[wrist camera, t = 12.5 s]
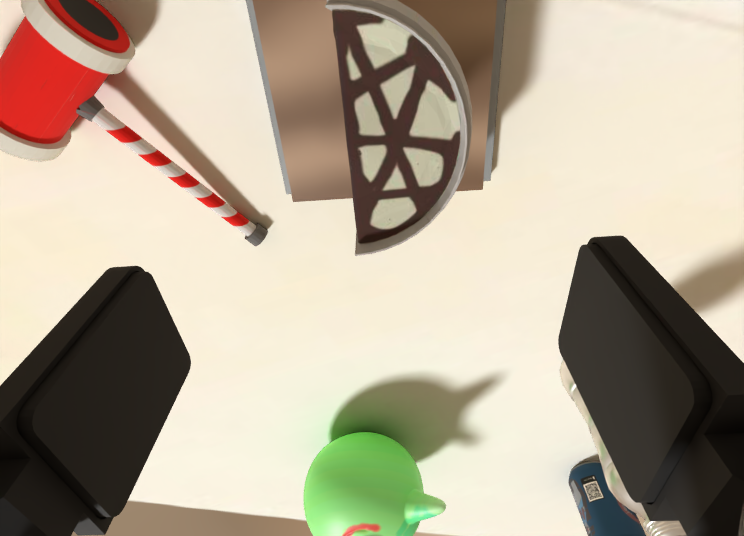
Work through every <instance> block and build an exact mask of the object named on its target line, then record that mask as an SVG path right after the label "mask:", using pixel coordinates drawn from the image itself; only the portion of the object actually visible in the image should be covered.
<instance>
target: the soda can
mask: <svg viewBox="0 0 744 536" xmlns="http://www.w3.org/2000/svg"><path fill="white" fill-rule="evenodd" d="M569 486H570V489H571V491H572V494H573V497H574V499H575V502H576V505H577V507H578V510H579V513H580V515H581V518H582V521H583V523H584V526H585V529H586V531H587V534H588V536H646V535H645V532H644V530H643V528H642V526H641V524H640V522H639V520H638V518H637V515H636V513H634V512H633V511H631V510H629V509H628V508H627V507H626V506H624V505H623V504H622V503H620V502H619V501H618V500H617V499H616V497H615V496H614V495H613V494H612V492H611V491H610V490H609V488H608V485H607V482H606V479H605V475H604V472H603V469H602V465H601V462H599V461H589V462H584V463H581V464H579V465H577V466H575V467H574V468H573V469H572V470H571V472H570V476H569Z"/></svg>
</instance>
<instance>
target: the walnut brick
mask: <svg viewBox="0 0 744 536" xmlns="http://www.w3.org/2000/svg"><path fill="white" fill-rule="evenodd" d="M252 1H253V6H254V11H255V16H256V20H257V25H258V30H259V35H260V40H261V45H262V50H263V55H264V60H265V65H266V70H267V75H268V80H269V85H270V90H271V95H272V100H273V105H274V110H275V115H276V119H277V124H278V129H279V134H280V139H281V144H282V149H283V154H284V159H285V164H286V169H287V174H288V179H289V184H290V189H291V194H292V199H293V202H299V201H315V200H330V199H345V198H353V194H352V185H351V175H350V167H349V159H348V151H347V142H346V132H345V123H344V113H343V103H342V95H341V86H340V77H339V68H338V58H337V50H336V42H335V37H334V33H333V19H332V11H331V10H329V9H327V8H326V6H325V5H326V4H327V0H252ZM397 1H399V2H401V3H402V4H404V5H406V6H407V7H409V8H411V9H412V10H414V11H416V12H417V13H418V14H420V15H421V16H422V17H423V18H424V19H425V20H426V21H428V22H429V23H430V24H431V25H432V26H433V27H434V28H435V29H436V30H437V31H438V32H439V34H440V35H441V36H442V37H443V39H444V40H445V41H446V42H447V44H448V45H449V46H450V48H451V50H452V51H453V53H454V55H455V57H456V59H457V60H458V62H459V64H460V66H461V69H462V71H463V74H464V77H465V80H466V82H467V85H468V89H469V95H470V100H471V105H472V135H471V143H470V150H469V158H468V161H467V164H466V167H465V171H464V174H463V177H462V179H461V181H460V183H459V185H458V187H457V189H456V191H468V190H483V179H484V166H485V153H486V140H487V127H488V114H489V101H490V88H491V75H492V62H493V49H494V36H495V23H496V10H497V0H397Z"/></svg>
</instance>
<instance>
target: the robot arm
mask: <svg viewBox="0 0 744 536" xmlns="http://www.w3.org/2000/svg"><path fill="white" fill-rule="evenodd" d="M558 341H559V349H560V353H561V355H562V357H563V359H564V362H565V364H566V366H567V368H568V370H569V372H570V374H571V376H572V378H573V380H574V382H575V384H576V387H577V389H578V391H579V393H580V395H581V397H582V399H583V401H584V403H585V405H586V407H587V409H588V412H589V414H590V416H591V418H592V420H593V422H594V424H595V426H596V428H597V430H598V432H599V434H600V437H601V439H602V441H603V443H604V445H605V447H606V449H607V451H608V453H609V455H610V457H611V459H612V462H613V464H614V466H615V468H616V470H617V472H618V474H619V476H620V478H621V480H622V482H623V485H624V487H625V489H626V491H627V493H628V494H629V496H630V498H631V499H632V500H633V501H634V502H636V503H641V504H642V506H643V508H644V510H645V512H646V514H647V516H648V518H649V520H650V521H679V522H680V524H681V526H682V528H683V529H684V531H685V533H686V535H687V536H744V363H743V362H742V361H741V360H740V359H739V358H738V357H737V356H736V355H735V354H734V352H733V351H732V350H731V349H730V348H729V347H728V346H727V345H726V344H725V343H724V342H723V341H722V340H721V339H720V338H719V336H718V335H717V334H716V333H715V332H714V331H713V330H712V329H711V328H710V327H709V326H708V325H707V324H706V323H705V322H704V320H703V319H702V318H701V317H700V316H699V315H698V314H697V313H696V312H695V311H694V310H693V309H692V308H691V307H690V306H689V304H688V303H687V302H686V301H685V300H684V299H683V298H682V297H681V296H680V295H679V294H678V293H677V292H676V291H675V290H674V289H673V287H672V286H671V285H670V284H669V283H668V282H667V281H666V280H665V279H664V278H663V277H662V276H661V275H660V274H659V273H658V271H657V270H656V269H655V268H654V267H653V266H652V265H651V264H650V263H649V262H648V261H647V260H646V259H645V258H644V257H643V255H642V254H641V253H640V252H639V251H638V250H637V249H636V248H635V247H634V246H633V245H632V244H631V243H630V242H629V241H628V239H627V238H625V237H624V236H606V237H593V238H591V239H590V240H589V242H588V244H587V245H582V246H581V247H580V250H579V253H578V257H577V261H576V266H575V270H574V274H573V278H572V283H571V287H570V291H569V295H568V300H567V304H566V308H565V313H564V317H563V321H562V325H561V330H560V334H559V340H558ZM190 366H191V360H190V356H189V353H188V351H187V349H186V347H185V345H184V342H183V340H182V338H181V336H180V334H179V332H178V330H177V328H176V325H175V323H174V321H173V319H172V317H171V315H170V313H169V311H168V308H167V306H166V304H165V302H164V300H163V298H162V296H161V293H160V291H159V289H158V287H157V285H156V283H155V281H154V279H153V277H152V275H151V274H150V273H149V272H145V271H144V270H143V269H142V268H141V267H139V266H127V267H113V268H109V269H108V270H107V271H105V273H104V274H103V275H102V276H101V277H100V278H99V279H98V280H97V281H96V282H95V283H94V285H93V286H92V287H91V288H90V289H89V290H88V291H87V292H86V293H85V294H84V295H83V296H82V298H81V299H80V300H79V301H78V302H77V303H76V304H75V305H74V306H73V307H72V308H71V310H70V311H69V312H68V313H67V314H66V315H65V316H64V317H63V318H62V319H61V320H60V322H59V323H58V324H57V325H56V326H55V327H54V328H53V329H52V330H51V331H50V332H49V333H48V335H47V336H46V337H45V338H44V339H43V340H42V341H41V342H40V343H39V344H38V345H37V347H36V348H35V349H34V350H33V351H32V352H31V353H30V354H29V355H28V356H27V357H26V358H25V360H24V361H23V362H22V363H21V364H20V365H19V366H18V367H17V368H16V369H15V370H14V372H13V373H12V374H11V375H10V376H9V377H8V378H7V379H6V380H5V381H4V382H3V383H2V385H1V386H0V536H71V535H72V532H73V531H74V532H75V533H76V534H77V535H105V534H106V532H107V530H108V527H109V525H110V524H111V521H112V519H113V517H115V516H117V515H119V514H120V513H121V511H122V510H123V508H124V507H125V505H126V503H127V500H128V498H129V496H130V494H131V492H132V490H133V488H134V486H135V484H136V482H137V480H138V477H139V475H140V473H141V471H142V469H143V467H144V465H145V463H146V461H147V459H148V457H149V454H150V452H151V450H152V448H153V446H154V444H155V442H156V440H157V438H158V436H159V433H160V431H161V429H162V427H163V425H164V423H165V421H166V419H167V417H168V415H169V413H170V410H171V408H172V406H173V404H174V402H175V400H176V398H177V396H178V394H179V392H180V390H181V387H182V385H183V383H184V381H185V379H186V377H187V375H188V373H189V370H190Z"/></svg>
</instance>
